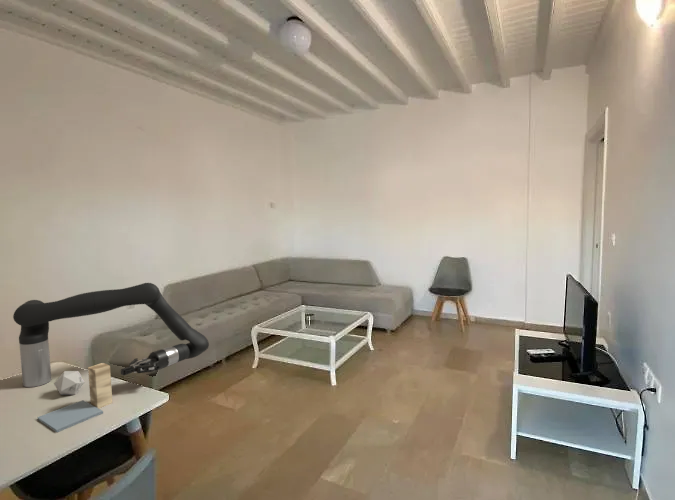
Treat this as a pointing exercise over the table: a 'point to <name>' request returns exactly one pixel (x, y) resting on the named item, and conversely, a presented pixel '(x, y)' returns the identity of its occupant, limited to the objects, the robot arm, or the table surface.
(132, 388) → the table surface
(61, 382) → the die
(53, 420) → the mat
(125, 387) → the table surface
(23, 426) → the table surface
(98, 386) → the beech block
